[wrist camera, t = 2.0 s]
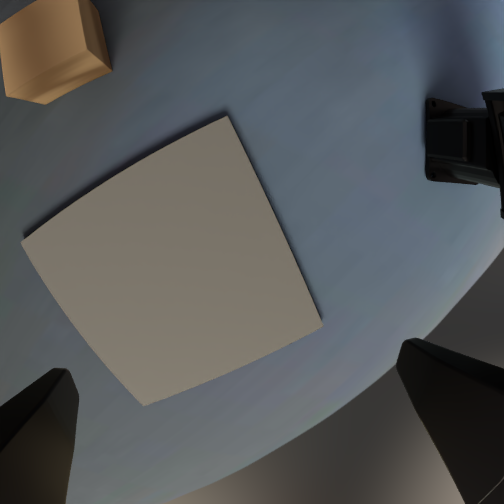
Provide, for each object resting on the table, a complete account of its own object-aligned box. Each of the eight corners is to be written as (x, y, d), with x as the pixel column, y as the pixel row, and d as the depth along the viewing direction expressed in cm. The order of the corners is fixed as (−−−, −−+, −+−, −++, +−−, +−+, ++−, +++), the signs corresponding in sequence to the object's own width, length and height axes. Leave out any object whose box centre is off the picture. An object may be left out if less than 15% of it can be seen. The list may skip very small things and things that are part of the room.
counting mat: (226, 116, 17) (227, 115, 17) (320, 322, 23) (323, 326, 23) (24, 240, 17) (20, 242, 17) (144, 401, 23) (143, 406, 22)
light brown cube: (99, 11, 14) (74, -20, 9) (112, 71, 15) (87, 49, 11) (34, 45, 13) (-2, 25, 9) (46, 104, 15) (6, 96, 10)
